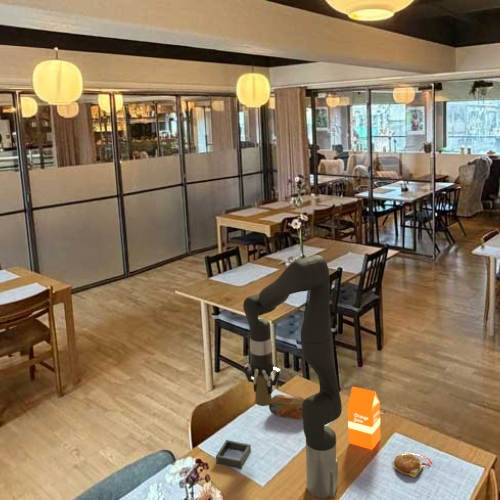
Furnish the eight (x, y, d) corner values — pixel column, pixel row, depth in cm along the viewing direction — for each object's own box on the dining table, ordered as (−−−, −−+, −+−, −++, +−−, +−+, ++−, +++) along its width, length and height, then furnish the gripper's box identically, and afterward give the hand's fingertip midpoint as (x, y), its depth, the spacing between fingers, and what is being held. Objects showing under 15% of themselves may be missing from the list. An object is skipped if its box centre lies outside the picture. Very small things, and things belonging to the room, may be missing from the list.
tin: (269, 415, 210) (268, 396, 208) (271, 411, 213) (270, 392, 211) (307, 420, 206) (307, 401, 204) (309, 416, 209) (308, 396, 206)
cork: (272, 396, 195) (271, 369, 191) (271, 406, 189) (270, 378, 186) (256, 396, 195) (254, 369, 192) (254, 406, 190) (252, 378, 186)
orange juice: (357, 432, 199) (356, 382, 194) (380, 439, 194) (380, 387, 189) (348, 443, 192) (347, 391, 188) (372, 450, 187) (371, 396, 183)
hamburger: (424, 489, 170) (425, 473, 168) (383, 470, 179) (383, 455, 177) (442, 464, 180) (443, 449, 178) (402, 448, 189) (403, 433, 187)
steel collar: (251, 452, 190) (250, 444, 189) (241, 469, 182) (240, 461, 181) (226, 447, 194) (226, 439, 193) (216, 463, 185) (215, 456, 184)
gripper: (237, 351, 185) (240, 396, 190) (277, 357, 180) (279, 402, 185) (245, 341, 192) (248, 385, 197) (284, 346, 187) (286, 390, 192)
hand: (263, 393), depth 191 cm, fingers closed on cork, 4 cm apart
